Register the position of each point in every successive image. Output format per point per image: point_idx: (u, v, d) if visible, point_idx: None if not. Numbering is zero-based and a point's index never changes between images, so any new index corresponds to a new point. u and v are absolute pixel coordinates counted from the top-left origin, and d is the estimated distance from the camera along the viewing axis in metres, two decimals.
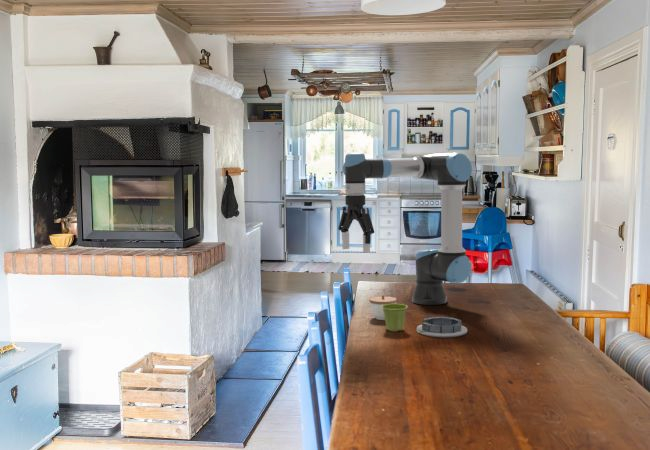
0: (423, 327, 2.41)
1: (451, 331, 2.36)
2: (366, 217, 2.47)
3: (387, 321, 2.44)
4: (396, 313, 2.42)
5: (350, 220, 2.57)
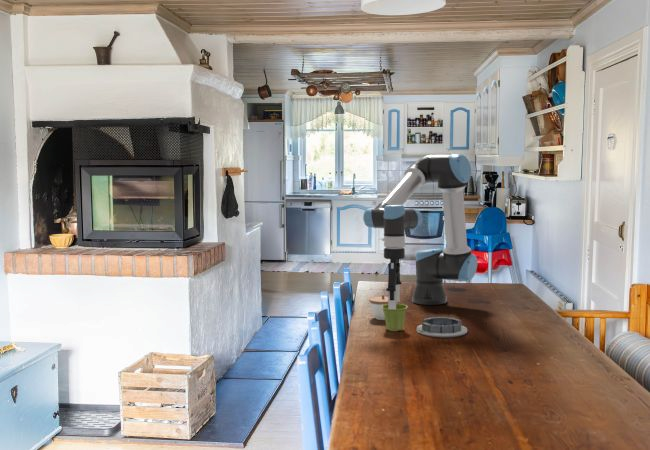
0: (423, 327, 2.41)
1: (451, 331, 2.36)
2: (390, 273, 2.37)
3: (387, 321, 2.44)
4: (396, 313, 2.42)
5: None
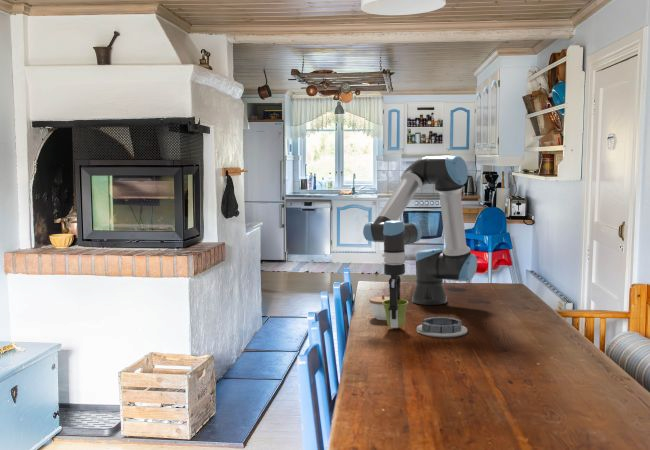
0: (423, 327, 2.41)
1: (451, 331, 2.36)
2: (391, 292, 2.39)
3: (388, 317, 2.45)
4: (397, 309, 2.42)
5: None
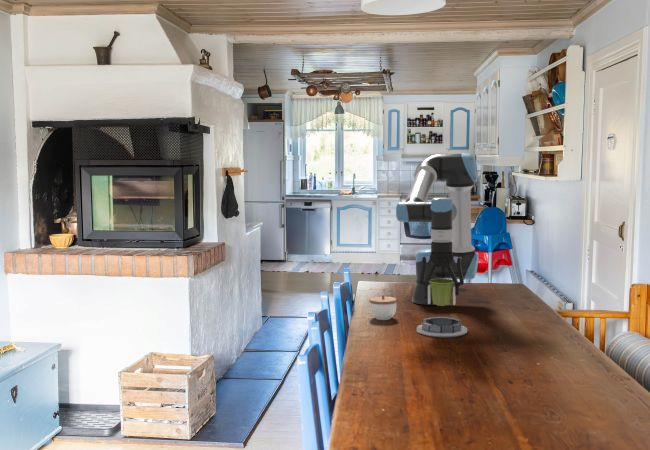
0: (423, 327, 2.41)
1: (451, 331, 2.36)
2: (460, 268, 2.39)
3: (448, 296, 2.39)
4: None
5: (434, 269, 2.42)
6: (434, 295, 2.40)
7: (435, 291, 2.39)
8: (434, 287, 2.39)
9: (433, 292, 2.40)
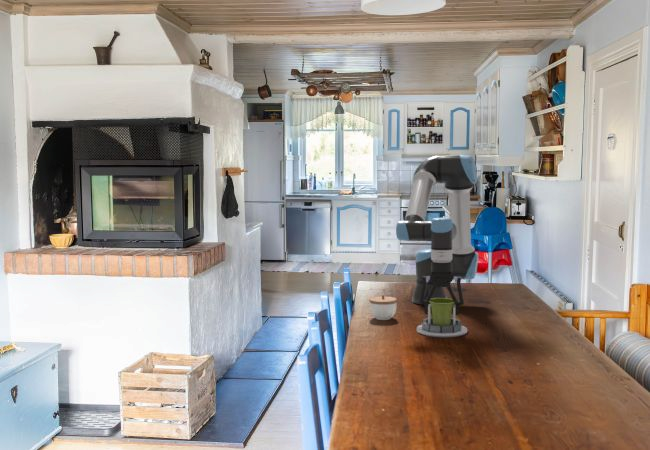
0: (423, 327, 2.41)
1: (451, 331, 2.36)
2: (460, 287, 2.40)
3: (448, 316, 2.40)
4: None
5: (434, 289, 2.42)
6: (434, 315, 2.41)
7: (436, 311, 2.40)
8: (435, 307, 2.40)
9: (433, 312, 2.41)
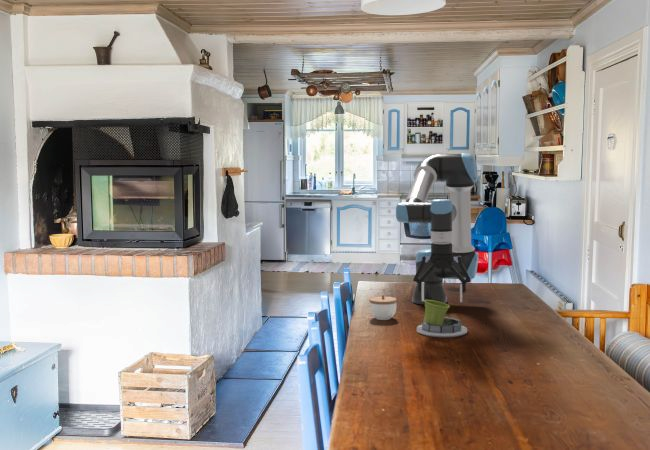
0: (423, 327, 2.41)
1: (451, 331, 2.36)
2: (463, 266, 2.39)
3: (440, 319, 2.41)
4: None
5: (431, 269, 2.42)
6: (427, 316, 2.41)
7: (429, 312, 2.41)
8: (429, 308, 2.40)
9: (427, 313, 2.42)
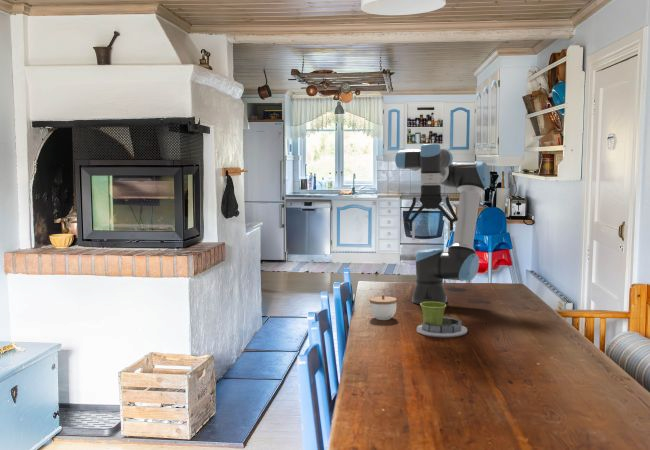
0: (423, 327, 2.41)
1: (451, 331, 2.36)
2: (451, 206, 2.57)
3: (439, 320, 2.41)
4: None
5: (421, 210, 2.59)
6: (426, 319, 2.41)
7: (427, 314, 2.41)
8: (426, 311, 2.40)
9: (425, 316, 2.42)
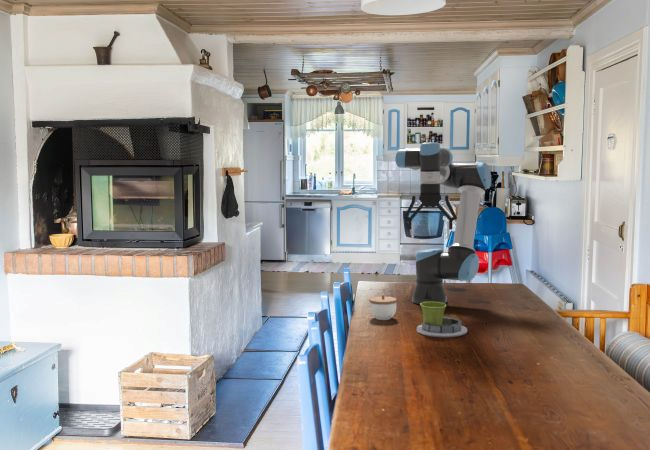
0: (423, 327, 2.41)
1: (451, 331, 2.36)
2: (450, 204, 2.57)
3: (439, 320, 2.41)
4: None
5: (421, 208, 2.60)
6: (426, 319, 2.41)
7: (427, 314, 2.41)
8: (426, 311, 2.40)
9: (425, 316, 2.42)
